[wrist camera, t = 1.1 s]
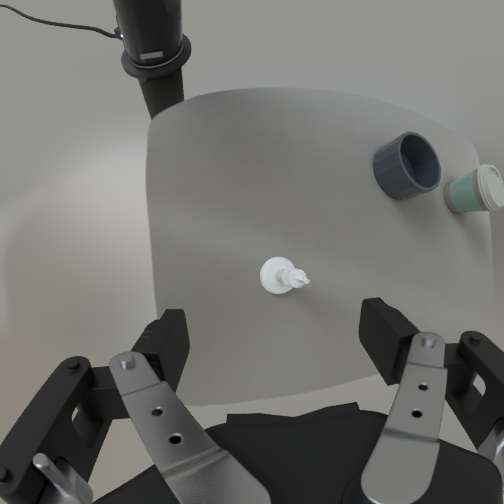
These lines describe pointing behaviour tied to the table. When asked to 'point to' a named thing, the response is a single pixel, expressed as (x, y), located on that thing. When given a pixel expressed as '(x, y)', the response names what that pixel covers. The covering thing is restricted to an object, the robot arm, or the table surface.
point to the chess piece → (281, 276)
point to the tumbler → (407, 166)
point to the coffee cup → (476, 191)
